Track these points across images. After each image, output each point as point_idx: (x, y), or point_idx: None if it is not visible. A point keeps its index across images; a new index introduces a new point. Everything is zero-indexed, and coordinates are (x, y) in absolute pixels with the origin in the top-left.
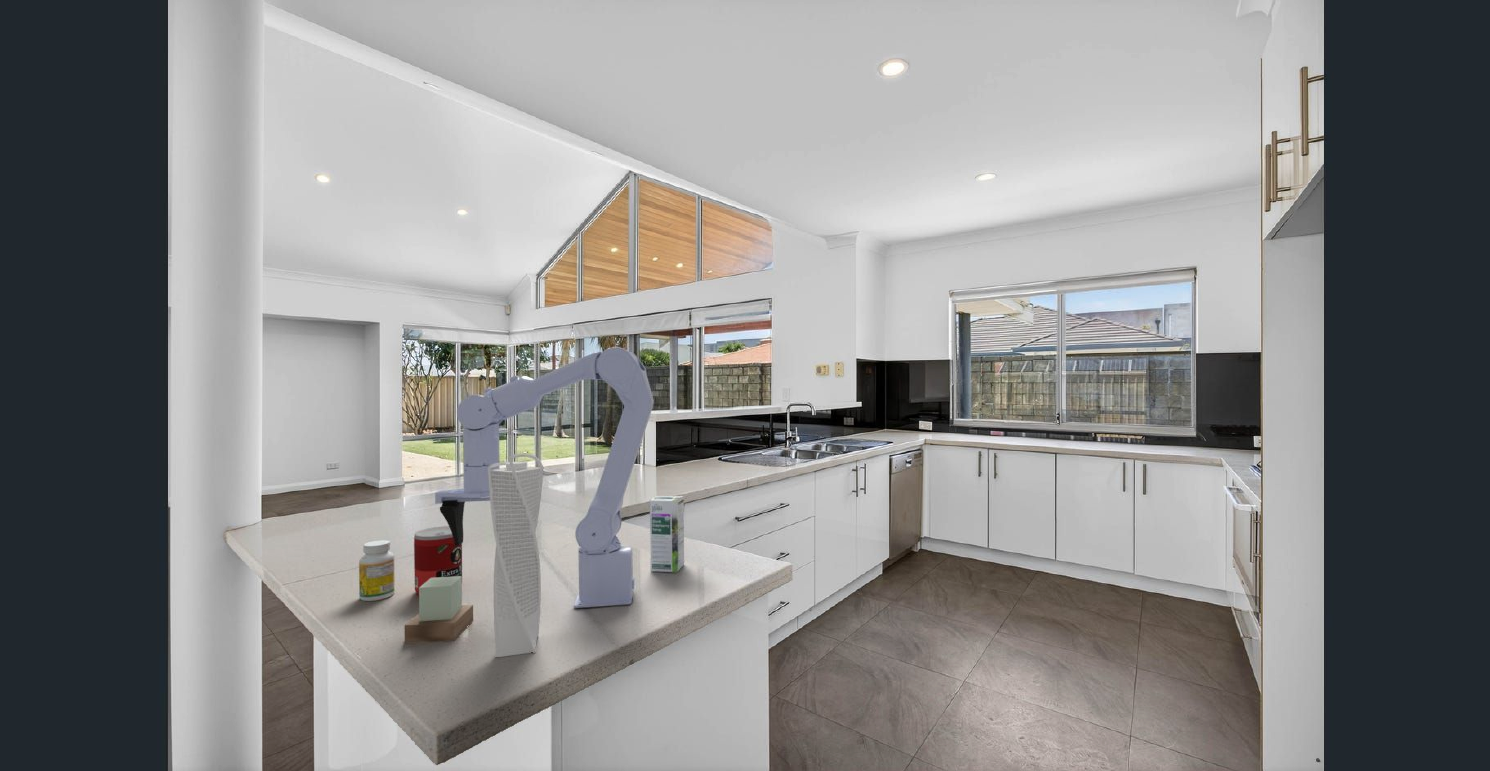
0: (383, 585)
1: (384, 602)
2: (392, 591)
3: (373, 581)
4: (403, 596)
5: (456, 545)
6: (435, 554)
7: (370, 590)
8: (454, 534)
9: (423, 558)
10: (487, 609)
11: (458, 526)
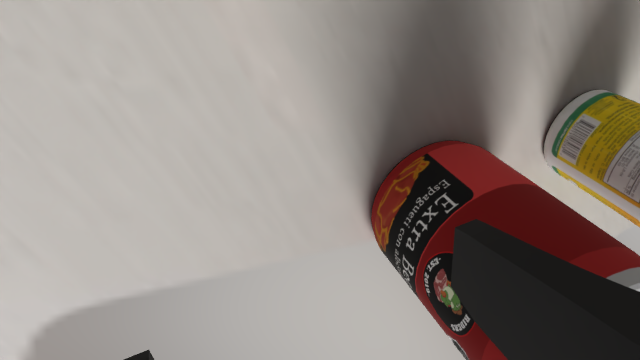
0: (595, 128)
1: (550, 88)
2: (552, 145)
3: (635, 118)
4: (513, 140)
5: (469, 222)
6: (531, 238)
7: (616, 102)
8: (541, 259)
9: (561, 212)
10: (150, 53)
11: (564, 338)
